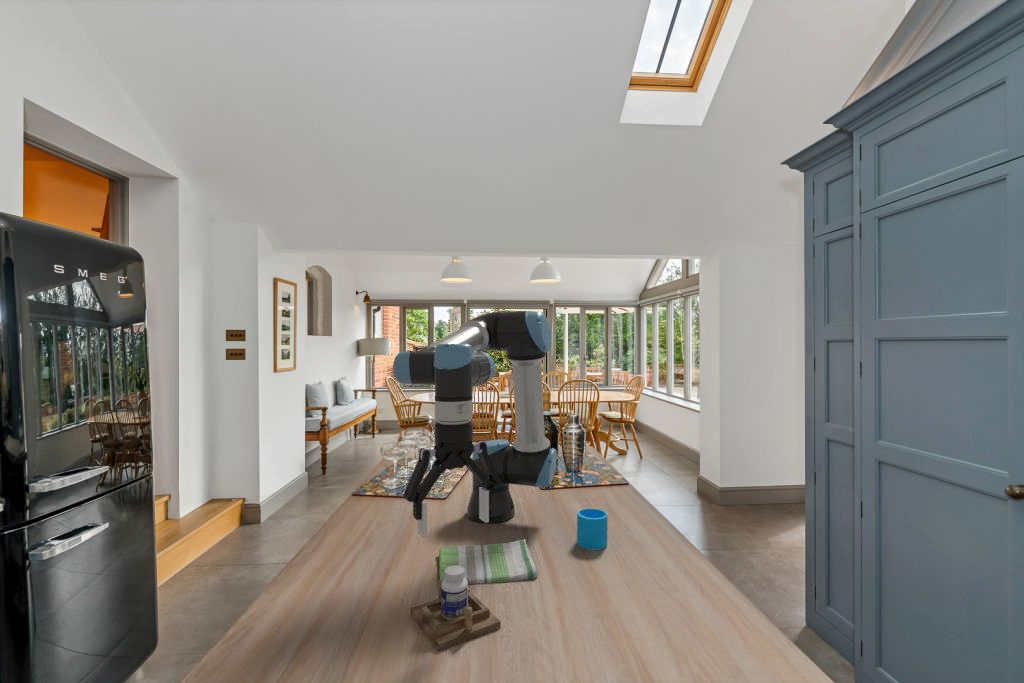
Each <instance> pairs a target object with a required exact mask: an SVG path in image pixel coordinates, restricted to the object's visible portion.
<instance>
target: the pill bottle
mask: <svg viewBox="0 0 1024 683" xmlns="http://www.w3.org/2000/svg"><path fill="white" fill-rule="evenodd" d="M464 575H465V571H464V568H463V567H461V566H457V565H455V566H449V567H447V568H446V569H445V571H444V578H445V579H444V580H443V582H442V584H441V614H442V616H443V618H445V619H446V620H452V619H455V618H458V617H461V616H464V615H465V608H466V607H468V590H469V588H468V587H469V584H468V582H467V580H466V579H465V578H464Z"/></svg>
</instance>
